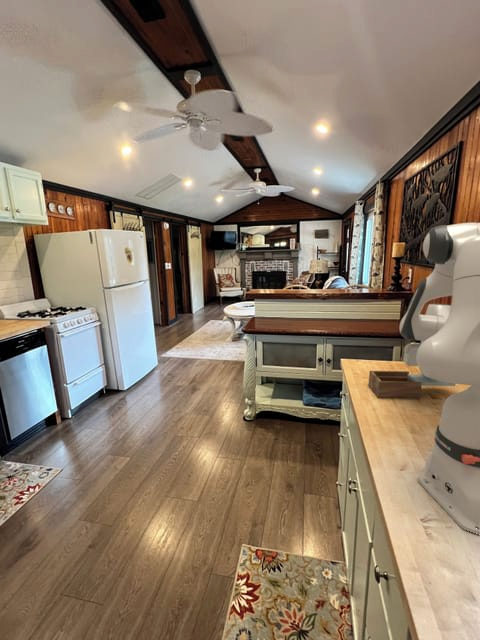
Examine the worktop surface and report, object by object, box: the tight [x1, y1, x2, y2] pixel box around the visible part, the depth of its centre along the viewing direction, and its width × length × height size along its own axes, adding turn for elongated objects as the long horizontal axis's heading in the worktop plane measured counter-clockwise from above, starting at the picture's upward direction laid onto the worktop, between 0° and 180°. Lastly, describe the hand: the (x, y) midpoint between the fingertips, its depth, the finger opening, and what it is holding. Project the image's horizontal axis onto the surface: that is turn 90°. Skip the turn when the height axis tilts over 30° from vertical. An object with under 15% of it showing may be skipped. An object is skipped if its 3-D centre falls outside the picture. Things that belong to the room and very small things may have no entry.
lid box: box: [367, 370, 422, 400], centre depth 126 cm, size 11×16×7 cm
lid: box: [407, 373, 456, 387], centre depth 124 cm, size 8×15×5 cm, turn 87°
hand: (428, 375), depth 124 cm, fingers closed on lid
